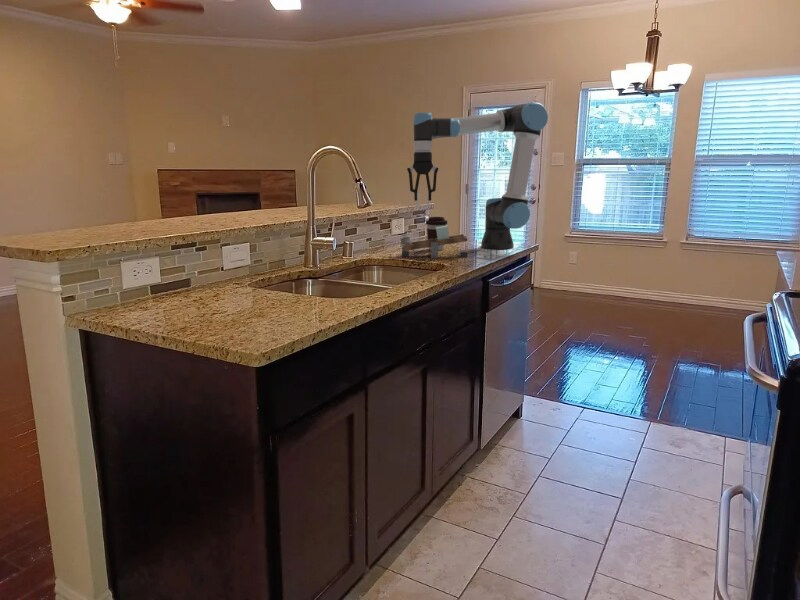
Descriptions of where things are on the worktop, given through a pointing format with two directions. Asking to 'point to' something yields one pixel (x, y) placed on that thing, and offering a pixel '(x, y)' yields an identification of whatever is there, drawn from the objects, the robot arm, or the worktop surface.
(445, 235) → the light blue block
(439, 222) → the coffee cup
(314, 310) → the worktop surface
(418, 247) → the beam
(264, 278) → the worktop surface
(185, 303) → the worktop surface
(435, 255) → the fulcrum
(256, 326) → the worktop surface
